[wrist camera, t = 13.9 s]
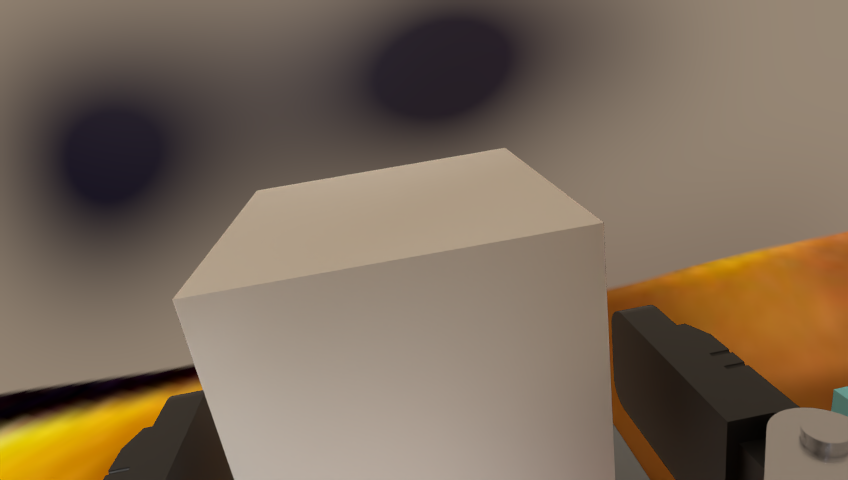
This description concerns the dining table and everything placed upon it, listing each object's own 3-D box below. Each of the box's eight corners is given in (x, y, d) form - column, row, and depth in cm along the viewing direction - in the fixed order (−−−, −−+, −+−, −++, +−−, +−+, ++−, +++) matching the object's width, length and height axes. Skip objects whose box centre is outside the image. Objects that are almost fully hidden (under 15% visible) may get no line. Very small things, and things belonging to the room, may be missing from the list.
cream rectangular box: (626, 730, 12) (603, 222, 8) (341, 791, 12) (172, 299, 8) (542, 505, 18) (505, 147, 14) (350, 542, 18) (256, 190, 14)
